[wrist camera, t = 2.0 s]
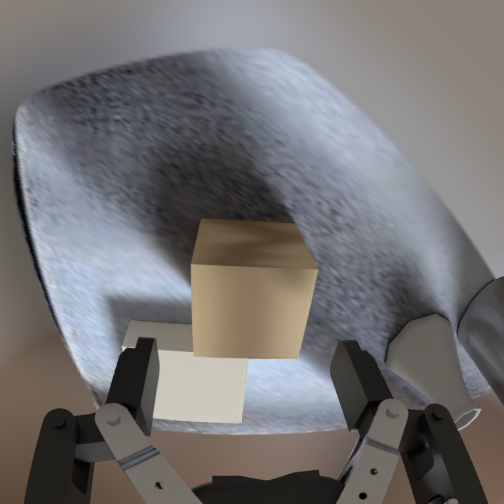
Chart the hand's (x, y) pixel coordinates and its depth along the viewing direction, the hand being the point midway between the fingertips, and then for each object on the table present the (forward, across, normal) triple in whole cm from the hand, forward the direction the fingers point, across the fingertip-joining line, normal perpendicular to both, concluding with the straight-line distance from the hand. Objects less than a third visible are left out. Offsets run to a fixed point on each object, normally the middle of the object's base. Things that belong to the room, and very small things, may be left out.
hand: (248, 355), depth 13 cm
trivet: (+9, +3, +10) cm, 14 cm away
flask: (+9, -18, +8) cm, 21 cm away
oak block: (+9, 0, 0) cm, 9 cm away
